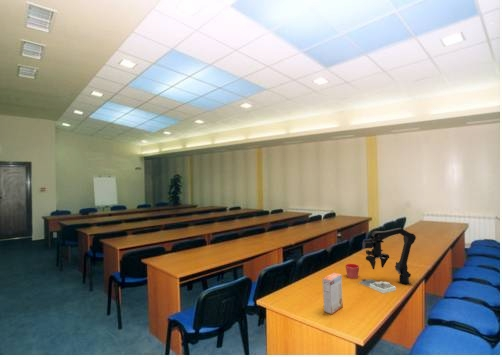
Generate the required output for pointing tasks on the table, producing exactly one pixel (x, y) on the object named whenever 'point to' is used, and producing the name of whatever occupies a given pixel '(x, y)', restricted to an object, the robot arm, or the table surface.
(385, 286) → the light grey cube
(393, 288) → the tray
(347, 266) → the flower pot
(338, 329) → the table surface
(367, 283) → the lid board
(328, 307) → the cracker box
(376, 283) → the grey cube
